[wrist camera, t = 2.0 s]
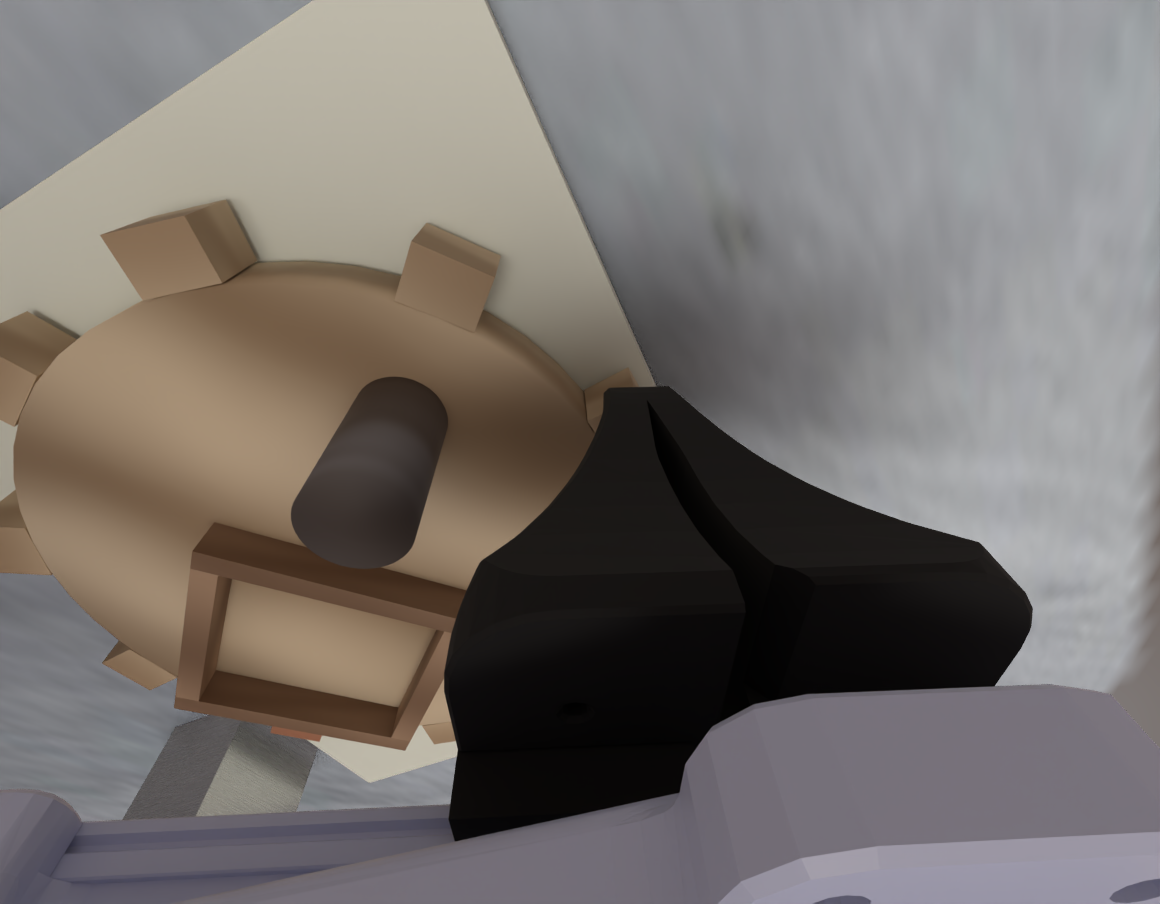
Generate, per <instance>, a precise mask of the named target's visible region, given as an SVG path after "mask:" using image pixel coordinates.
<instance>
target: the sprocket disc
mask: <svg viewBox="0 0 1160 904" xmlns="http://www.w3.org/2000/svg"><path fill="white" fill-rule="evenodd" d="M100 236H101V238H102V239H103V241H104V242H105V244H106V245H107V247H108V248H109V250H110V251H111V253H112V254H113V256H114V257H115V259H116V261H117V262H118V264H119V265H120V267H121V268H122V270H123V271H124V273H125V274H126V276H127V277H128V279H129V280H130V282H131V283H132V285H133V286H134V288H135V289H136V291H137V293H138V294H139V296H140V297H141V299H142V301H140V302H138V303H137V304H135V305H133V306H131V307H129V308H128V309H126V310H124V311H122V312H120V313H119V314H117V315H115V316H113V317H111V318H110V319H108V320H106V321H104V322H102V323H101V324H99V325H97V326H95V327H93V328H92V329H90V330H88V331H87V332H86V333H85V334H83V335H82V336H81V337H80V338H79V339H75V338H73V337H72V336H70V335H68V334H66V333H65V332H63V331H61V330H59V329H58V328H56V327H54V326H52V325H51V324H49V323H47V322H45V321H44V320H42V319H40V318H38V317H37V316H35V315H33V314H31V313H30V312H28V311H26V312H24V313H22V314H20V315H18V316H15V317H13V318H11V319H9V320H7V321H4V322H2V323H0V420H1V421H3V422H5V423H7V424H9V425H11V426H13V427H15V426H16V425H18V428H17V432H16V437H15V442H14V446H13V476H14V484H15V490H14V491H13V492H12V493H10V494H9V495H8V496H6V497H5V498H4V499H3V500H1V501H0V573H17V574H38V575H52V574H53V575H54V576H55V577H56V579H57V580H58V581H59V582H60V584H61V585H62V586H63V588H64V589H65V590H66V591H67V593H68V594H69V595H70V596H71V597H72V598H73V599H74V600H75V601H76V602H77V603H78V604H79V605H80V606H81V607H82V608H83V609H84V610H85V611H86V612H87V613H88V614H89V615H90V616H91V617H92V618H93V619H94V620H95V621H96V622H97V623H98V624H100V625H101V626H102V627H103V628H105V629H106V630H107V631H108V632H109V633H111V634H112V635H113V636H114V637H116V638H117V639H118V640H119V641H118V643H117V644H116V645H115V647H114V648H113V649H112V651H111V652H110V653H109V655H108V656H107V657H106V658H105V660H104V661H103V662H102V664H104V665H106V666H108V667H110V668H111V669H113V670H115V671H117V672H118V673H120V674H122V675H124V676H126V677H127V678H129V679H131V680H133V681H134V682H136V683H138V684H140V685H141V686H143V687H145V688H147V689H149V690H152V689H154V688H156V687H158V686H160V685H162V684H164V683H167V682H169V681H171V680H173V679H175V678H177V677H178V679H177V687H176V696H175V705H174V708H176V709H181V710H187V711H192V712H198V713H203V714H208V715H214V716H219V717H225V718H230V719H235V720H241V721H246V722H252V723H257V724H263V725H268V726H272V729H271V732H270V733H273V734H279V735H284V736H290V737H295V738H301V739H306V740H312V741H317V742H320V739H321V737H322V736H328V737H333V738H338V739H344V740H349V741H355V742H360V743H365V744H371V745H376V746H382V747H387V748H393V749H398V750H403V751H405V750H406V748H407V746H408V745H409V743H410V741H411V739H412V737H413V735H414V733H415V732H416V730H417V728H418V726H420V725H422V727H423V728H424V730H425V731H426V733H427V734H428V736H429V737H430V739H431V740H432V742H433V743H434V744H440V743H447V742H453V741H456V740H455V736H454V731H453V727H452V723H451V719H450V714H449V710H448V706H447V702H446V697H445V693H444V670H445V665H446V659H447V653H448V648H449V642H450V638H451V633H452V630H453V627H454V623H455V620H456V617H457V614H458V611H459V608H460V605H461V603H462V600H463V598H464V595H465V593H466V591H467V588H468V586H469V584H470V582H471V579H472V577H473V575H474V573H475V571H476V569H477V567H478V565H479V563H480V562H481V561H482V560H483V559H484V558H486V557H487V556H489V555H490V554H492V553H493V552H495V551H496V550H498V549H499V548H501V547H502V546H503V545H505V544H506V543H508V542H509V541H510V540H512V539H513V538H515V537H516V536H517V535H518V534H519V533H521V532H522V531H523V530H524V529H525V528H526V527H527V526H528V525H529V524H530V523H531V522H532V521H533V520H534V519H536V518H537V517H538V516H539V515H540V514H541V513H542V512H543V511H544V510H545V509H546V508H547V507H548V506H549V505H550V503H551V502H552V501H553V500H554V499H555V498H556V496H557V495H558V494H559V493H560V491H561V490H562V489H563V488H564V486H565V485H566V484H567V483H568V481H569V480H570V478H571V477H572V475H573V474H574V472H575V471H576V469H577V468H578V466H579V465H580V463H581V461H582V459H583V458H584V456H585V454H586V452H587V450H588V448H589V446H590V444H591V442H592V440H593V438H594V436H595V433H596V430H597V428H598V425H599V422H600V420H601V417H602V413H603V396H604V392H605V391H606V390H607V389H608V388H615V387H639V385H638V384H637V382H636V380H635V378H634V376H633V375H632V373H631V371H630V369H629V367H628V368H626V369H624V370H622V371H620V372H618V373H616V374H614V375H612V376H610V377H608V378H606V379H604V380H602V381H600V382H598V383H596V384H595V385H593V386H591V387H589V388H587V389H585V390H584V391H585V393H584V391H583V390H582V389H581V388H580V387H579V386H578V385H577V384H576V383H575V381H574V380H573V379H572V378H571V377H570V376H569V375H568V374H567V373H566V372H565V371H564V370H563V368H562V367H561V366H560V365H559V364H558V363H557V362H556V361H555V360H553V359H552V358H551V357H550V356H549V355H547V354H546V353H545V352H544V351H543V350H541V349H540V348H539V347H538V346H537V345H536V344H534V343H533V342H532V341H531V340H530V339H528V338H527V337H526V336H525V335H523V334H521V333H520V332H518V331H517V330H515V329H514V328H512V327H511V326H509V325H508V324H506V323H504V322H503V321H501V320H500V319H498V318H497V317H495V316H494V315H492V314H490V313H489V312H487V311H485V310H483V308H484V305H485V303H486V300H487V297H488V295H489V292H490V289H491V287H492V284H493V282H494V279H495V276H496V272H497V269H498V265H499V261H500V258H501V256H500V255H498V254H496V253H493V252H491V251H489V250H487V249H484V248H482V247H480V246H478V245H475V244H473V243H471V242H469V241H466V240H464V239H462V238H460V237H457V236H455V235H453V234H451V233H448V232H446V231H444V230H442V229H439V228H437V227H435V226H433V225H431V224H428V223H426V224H425V225H424V226H423V228H422V229H421V230H420V231H419V232H418V234H417V235H416V236H415V237H414V238H413V240H412V241H411V244H410V247H409V251H408V254H407V258H406V261H405V265H404V268H403V272H402V275H401V276H399V275H394V274H389V273H385V272H380V271H376V270H371V269H367V268H362V267H358V266H352V265H341V264H331V263H320V262H309V261H294V262H265V263H254V262H256V261H257V259H256V257H255V255H254V253H253V251H252V249H251V247H250V245H249V243H248V241H247V240H246V238H245V236H244V234H243V232H242V230H241V228H240V226H239V224H238V222H237V220H236V218H235V216H234V214H233V212H232V210H231V208H230V207H229V205H228V203H227V201H226V200H222V201H217V202H213V203H209V204H204V205H200V206H196V207H191V208H187V209H183V210H178V211H174V212H170V213H165V214H161V215H157V216H152V217H149V218H146V219H143V220H140V221H138V222H135V223H132V224H129V225H127V226H124V227H121V228H118V229H115V230H113V231H110V232H107V233H104V234H101V235H100ZM253 263H254V264H253Z"/></svg>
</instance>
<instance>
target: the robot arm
mask: <svg viewBox="0 0 1160 904" xmlns="http://www.w3.org/2000/svg"><path fill="white" fill-rule="evenodd" d="M1032 611H1033V608H1032V606H1031V604H1030V601H1029V599H1028V597H1027V595H1026V593H1025V592H1024V591H1023V589H1022V588H1021V587H1020V586H1019V585H1018V584H1017V583H1016V582H1015V581H1014V580H1013V578H1012V577H1011V576H1010V575H1009V574H1008V573H1007V572H1006V571H1005V570H1004V569H1003V568H1002V566H1001V565H1000V564H999V563H998V562H997V561H996V560H995V559H994V558H993V557H992V555H991V554H990V553H989V552H988V551H987V550H986V549H985V548H984V547H983V546H982V545H981V544H980V543H979V542H976V541H972V540H968V539H965V538H961V537H958V536H954V535H950V534H947V533H943V532H940V531H936V530H932V529H929V528H925V527H922V526H918V525H914V524H911V523H908V522H905V521H901V520H899V519H896V518H893V517H890V516H887V515H884V514H881V513H879V512H876V511H873V510H870V509H867V508H864V507H862V506H859V505H857V504H854V503H852V502H849V501H847V500H844V499H842V498H839V497H837V496H835V495H833V494H830V493H828V492H826V491H824V490H821V489H819V488H817V487H815V486H813V485H810V484H808V483H806V482H804V481H802V480H800V479H798V478H796V477H794V476H792V475H791V474H789V473H787V472H785V471H784V470H782V469H780V468H778V467H776V466H775V465H773V464H771V463H769V462H767V461H766V460H764V459H763V458H761V457H759V456H758V455H756V454H755V453H753V452H752V451H750V450H749V449H747V448H746V447H744V446H743V445H741V444H740V443H739V442H737V441H736V440H734V439H733V438H731V437H730V436H729V435H727V434H726V433H725V432H723V431H722V430H721V429H719V428H718V427H717V426H716V425H714V424H713V423H712V422H711V421H709V420H708V419H707V418H706V417H704V416H703V415H702V414H701V413H700V412H698V411H697V410H696V409H695V408H694V407H692V406H691V405H690V404H689V403H688V402H687V401H685V400H684V399H683V398H682V397H681V396H680V395H678V394H677V393H676V392H675V391H674V390H672V389H671V388H670V387H668V386H661V387H615V388H608V389H607V390H606V391H605V392H604V396H603V413H602V417H601V420H600V422H599V425H598V428H597V430H596V433H595V436H594V438H593V440H592V442H591V444H590V446H589V448H588V450H587V452H586V454H585V456H584V458H583V459H582V461H581V463H580V465H579V466H578V468H577V469H576V471H575V472H574V474H573V475H572V477H571V478H570V480H569V481H568V483H567V484H566V485H565V486H564V488H563V489H562V490H561V491H560V493H559V494H558V495H557V496H556V498H555V499H554V500H553V501H552V502H551V503H550V505H549V506H548V507H547V508H546V509H545V510H544V511H543V512H542V513H541V514H540V515H539V516H538V517H537V518H536V519H534V520H533V521H532V522H531V523H530V524H529V525H528V526H527V527H526V528H525V529H524V530H523V531H522V532H521V533H519V534H518V535H517V536H516V537H515V538H513V539H512V540H510V541H509V542H508V543H506V544H505V545H503V546H502V547H501V548H499V549H498V550H496V551H495V552H493V553H492V554H490V555H489V556H487V557H486V558H484V559H483V560H482V561H481V562H480V563H479V565H478V567H477V569H476V571H475V573H474V575H473V577H472V579H471V582H470V584H469V586H468V588H467V591H466V593H465V595H464V598H463V600H462V603H461V605H460V608H459V611H458V614H457V617H456V620H455V623H454V627H453V630H452V633H451V638H450V642H449V648H448V653H447V659H446V665H445V670H444V693H445V697H446V702H447V706H448V710H449V714H450V719H451V723H452V727H453V731H454V736H455V740H456V744H457V748H458V752H457V760H456V767H455V774H454V782H453V789H452V796H451V804H449V805H428V806H407V807H386V808H365V809H344V810H322V811H301V812H280V813H259V814H238V815H217V816H196V817H175V818H154V819H133V820H111V821H90V822H82V821H81V819H80V817H79V815H78V814H77V813H76V811H75V810H74V809H73V807H72V806H70V805H69V804H68V803H67V802H66V801H65V800H63V799H61V798H60V797H58V796H56V795H54V794H51V793H47V792H44V791H40V790H30V789H8V790H0V904H1160V748H1159V747H1158V746H1157V745H1156V744H1155V743H1154V741H1152V739H1151V738H1150V737H1149V736H1148V735H1147V734H1146V733H1145V732H1144V730H1142V728H1141V727H1140V726H1139V725H1138V724H1137V723H1136V722H1135V721H1134V719H1133V718H1132V717H1131V716H1130V715H1129V714H1128V713H1127V712H1126V710H1125V709H1124V708H1123V707H1122V706H1121V705H1120V704H1119V703H1118V702H1117V700H1116V699H1115V698H1114V697H1113V696H1112V695H1111V694H1107V693H1102V692H1098V691H1093V690H1087V689H1080V688H1073V687H1066V686H1059V685H1052V684H1041V685H1017V686H995V685H996V683H997V682H998V680H999V679H1000V677H1001V676H1002V675H1003V673H1004V672H1005V670H1006V669H1007V668H1008V666H1009V665H1010V663H1011V662H1012V660H1013V659H1014V658H1015V656H1016V655H1017V653H1018V652H1019V650H1020V649H1021V647H1022V645H1023V643H1024V641H1025V639H1026V637H1027V635H1028V633H1029V631H1030V628H1031V623H1032Z"/></svg>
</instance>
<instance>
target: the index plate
mask: <svg viewBox="0 0 1160 904" xmlns="http://www.w3.org/2000/svg"><path fill="white" fill-rule="evenodd" d="M222 200H226V201H227V203H228V205H229V207H230V208H231V210H232V212H233V214H234V216H235V218H236V220H237V222H238V224H239V226H240V228H241V230H242V232H243V234H244V236H245V238H246V240H247V241H248V243H249V245H250V247H251V249H252V251H253V253H254V255H255V257H256V259H257V261H256V262H254V263H265V262H294V261H309V262H320V263H331V264H341V265H352V266H358V267H362V268H367V269H371V270H376V271H380V272H385V273H389V274H394V275H399V276H401V275H402V272H403V268H404V265H405V261H406V258H407V254H408V251H409V247H410V244H411V241H412V240H413V238H414V237H415V236H416V235H417V234H418V232H419V231H420V230H421V229H422V228H423V226H424V225H425V224H426V223H428V224H431V225H433V226H435V227H437V228H439V229H442V230H444V231H446V232H448V233H451V234H453V235H455V236H457V237H460V238H462V239H464V240H466V241H469V242H471V243H473V244H475V245H478V246H480V247H482V248H484V249H487V250H489V251H491V252H493V253H496V254H498V255H500V256H501V258H500V261H499V265H498V269H497V272H496V276H495V279H494V282H493V284H492V287H491V289H490V292H489V295H488V297H487V300H486V303H485V305H484V308H483V310H485V311H487V312H489V313H490V314H492V315H494V316H495V317H497V318H498V319H500V320H501V321H503V322H504V323H506V324H508V325H509V326H511V327H512V328H514V329H515V330H517V331H518V332H520V333H521V334H523V335H525V336H526V337H527V338H528V339H530V340H531V341H532V342H533V343H534V344H536V345H537V346H538V347H539V348H540V349H541V350H543V351H544V352H545V353H546V354H547V355H549V356H550V357H551V358H552V359H553V360H555V361H556V362H557V363H558V364H559V365H560V366H561V367H562V368H563V370H564V371H565V372H566V373H567V374H568V375H569V376H570V377H571V378H572V379H573V380H574V381H575V383H576V384H577V385H578V386H579V387H580V388H581V389H582V390H583V391H584V390H585V389H587V388H589V387H591V386H593V385H595V384H596V383H598V382H600V381H602V380H604V379H606V378H608V377H610V376H612V375H614V374H616V373H618V372H620V371H622V370H624V369H626V368H628V367H629V369H630V371H631V373H632V375H633V376H634V378H635V380H636V382H637V384H638V385H639V387H657V386H656V384H655V382H654V379H653V377H652V375H651V372H650V370H649V368H648V366H647V363H646V361H645V359H644V357H643V354H642V352H641V350H640V347H639V345H638V343H637V341H636V338H635V336H634V334H633V331H632V329H631V327H630V325H629V322H628V320H627V318H626V316H625V313H624V311H623V309H622V306H621V304H620V302H619V300H618V297H617V295H616V293H615V290H614V288H613V286H612V284H611V281H610V279H609V277H608V275H607V272H606V270H605V268H604V265H603V263H602V261H601V259H600V256H599V254H598V252H597V249H596V247H595V245H594V243H593V240H592V238H591V236H590V234H589V231H588V229H587V227H586V224H585V222H584V220H583V218H582V215H581V213H580V211H579V208H578V206H577V204H576V202H575V199H574V197H573V195H572V193H571V190H570V188H569V186H568V183H567V181H566V179H565V177H564V174H563V172H562V170H561V167H560V165H559V163H558V161H557V158H556V156H555V154H554V152H553V149H552V147H551V145H550V142H549V140H548V138H547V136H546V133H545V131H544V129H543V126H542V124H541V122H540V120H539V117H538V115H537V113H536V111H535V108H534V106H533V104H532V101H531V99H530V97H529V95H528V92H527V90H526V88H525V85H524V83H523V81H522V79H521V76H520V74H519V72H518V70H517V67H516V65H515V63H514V60H513V58H512V56H511V54H510V51H509V49H508V47H507V44H506V42H505V40H504V38H503V35H502V33H501V31H500V29H499V26H498V24H497V22H496V19H495V17H494V15H493V13H492V10H491V8H490V6H489V3H488V1H487V0H313V1H311V2H310V3H308V4H307V5H305V6H304V7H302V8H301V9H299V10H298V11H296V12H295V13H293V14H292V15H290V16H289V17H287V18H286V19H285V20H283V21H282V22H280V23H279V24H277V25H276V26H274V27H273V28H271V29H270V30H268V31H267V32H265V33H264V34H262V35H261V36H259V37H258V38H256V39H255V40H253V41H252V42H250V43H249V44H247V45H246V46H244V47H243V48H241V49H240V50H238V51H237V52H235V53H234V54H232V55H231V56H229V57H228V58H226V59H225V60H223V61H222V62H220V63H219V64H217V65H216V66H214V67H213V68H211V69H210V70H208V71H207V72H205V73H204V74H202V75H201V76H199V77H198V78H196V79H195V80H193V81H192V82H190V83H189V84H187V85H186V86H184V87H183V88H181V89H180V90H178V91H177V92H175V93H174V94H172V95H171V96H169V97H168V98H166V99H165V100H163V101H162V102H160V103H159V104H157V105H156V106H154V107H153V108H151V109H150V110H148V111H147V112H145V113H144V114H142V115H141V116H139V117H138V118H136V119H135V120H133V121H132V122H130V123H129V124H127V125H126V126H124V127H123V128H121V129H120V130H119V131H117V132H116V133H114V134H113V135H111V136H110V137H108V138H107V139H105V140H104V141H102V142H101V143H99V144H98V145H96V146H95V147H93V148H92V149H90V150H89V151H87V152H86V153H84V154H83V155H81V156H80V157H78V158H77V159H75V160H74V161H72V162H71V163H69V164H68V165H66V166H65V167H63V168H62V169H60V170H59V171H57V172H56V173H54V174H53V175H51V176H50V177H48V178H47V179H45V180H44V181H42V182H41V183H39V184H38V185H36V186H35V187H33V188H32V189H30V190H29V191H27V192H26V193H24V194H23V195H21V196H20V197H18V198H17V199H15V200H14V201H12V202H11V203H9V204H8V205H6V206H5V207H3V208H2V209H0V323H2V322H4V321H7V320H9V319H11V318H13V317H15V316H18V315H20V314H22V313H24V312H26V311H28V312H30V313H31V314H33V315H35V316H37V317H38V318H40V319H42V320H44V321H45V322H47V323H49V324H51V325H52V326H54V327H56V328H58V329H59V330H61V331H63V332H65V333H66V334H68V335H70V336H72V337H73V338H75V339H79V338H80V337H81V336H82V335H83V334H85V333H86V332H87V331H88V330H90V329H92V328H93V327H95V326H97V325H99V324H101V323H102V322H104V321H106V320H108V319H110V318H111V317H113V316H115V315H117V314H119V313H120V312H122V311H124V310H126V309H128V308H129V307H131V306H133V305H135V304H137V303H138V302H140V301H142V299H141V297H140V296H139V294H138V293H137V291H136V289H135V288H134V286H133V285H132V283H131V282H130V280H129V279H128V277H127V276H126V274H125V273H124V271H123V270H122V268H121V267H120V265H119V264H118V262H117V261H116V259H115V257H114V256H113V254H112V253H111V251H110V250H109V248H108V247H107V245H106V244H105V242H104V241H103V239H102V238H101V236H100V235H101V234H104V233H107V232H110V231H113V230H115V229H118V228H121V227H124V226H127V225H129V224H132V223H135V222H138V221H140V220H143V219H146V218H149V217H152V216H157V215H161V214H165V213H170V212H174V211H178V210H183V209H187V208H191V207H196V206H200V205H204V204H209V203H213V202H217V201H222ZM254 263H253V264H254ZM584 393H585V391H584ZM17 428H18V425H16V426H15V427H13V426H11V425H9V424H7V423H5V422H3V421H1V420H0V501H1V500H3V499H4V498H5V497H6V496H8V495H9V494H10V493H12V492H13V491H14V490H15V484H14V476H13V446H14V442H15V437H16V432H17ZM308 741H309V742H311V743H312V744H313V745H315V746H316V747H318V748H319V749H321V750H322V751H324V752H325V753H327V754H328V755H329V756H331V757H332V758H334V759H335V760H337V761H338V762H340V763H341V764H342V765H344V766H345V767H347V768H348V769H350V770H351V771H353V772H354V773H356V774H357V775H358V776H360V777H361V778H363V779H364V780H366V781H367V782H369V783H371V782H374V781H377V780H381V779H384V778H387V777H391V776H394V775H397V774H400V773H404V772H407V771H410V770H414V769H417V768H420V767H424V766H427V765H430V764H434V763H437V762H440V761H443V760H447V759H450V758H453V757H457V752H458V748H457V744H456V741H453V742H447V743H440V744H434V743H433V742H432V740H431V739H430V737H429V736H428V734H427V733H426V731H425V730H424V728H423V727H422V725H420V726H418V728H417V730H416V732H415V733H414V735H413V737H412V739H411V741H410V743H409V745H408V746H407V748H406V750H405V751H403V750H398V749H393V748H387V747H382V746H376V745H371V744H365V743H360V742H355V741H349V740H344V739H338V738H333V737H328V736H322V737H321V739H320V742H317V741H312V740H308Z"/></svg>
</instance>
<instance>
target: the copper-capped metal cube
mask: <svg viewBox="0 0 1160 904" xmlns="http://www.w3.org/2000/svg"><path fill="white" fill-rule="evenodd" d="M271 729H272V726H268V725H263V724H257V723H252V722H246V721H241V720H235V719H230V718H225V717H219V716H214V715H208V716H205V717H203V718H200V719H197V720H194V721H191V722H189V723H186V724H183V725H180V726H178V727H175V729H174V731H173V732H172V734H171V736H170V738H169V739H168V741H167V743H166V745H165V746H164V748H163V750H162V752H161V753H160V755H159V757H158V758H157V760H156V762H155V764H154V765H153V767H152V769H151V771H150V772H149V774H148V776H147V778H146V779H145V781H144V783H143V785H142V786H141V788H140V790H139V792H138V793H137V795H136V797H135V798H134V800H133V802H132V804H131V805H130V807H129V809H128V811H127V812H126V814H125V816H124V818H123V819H122V820H133V819H154V818H175V817H196V816H217V815H238V814H259V813H280V812H296V811H297V808H298V805H299V802H300V799H301V796H302V793H303V790H304V787H305V785H306V782H307V779H308V776H309V773H310V770H311V767H312V764H313V761H314V759H315V756H316V753H317V750H318V747H316V746H315V745H313V744H312V743H311V742H309V741H308V740H306V739H301V738H295V737H290V736H284V735H279V734H273V733H270V732H271Z"/></svg>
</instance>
